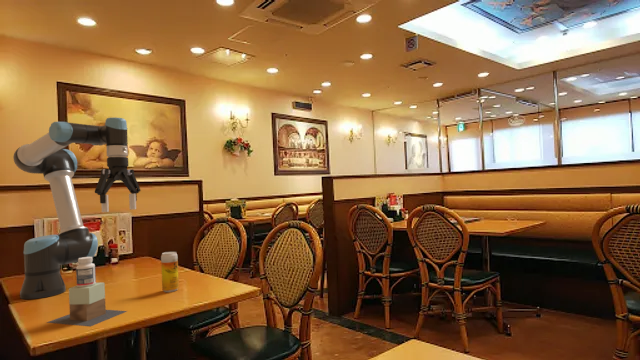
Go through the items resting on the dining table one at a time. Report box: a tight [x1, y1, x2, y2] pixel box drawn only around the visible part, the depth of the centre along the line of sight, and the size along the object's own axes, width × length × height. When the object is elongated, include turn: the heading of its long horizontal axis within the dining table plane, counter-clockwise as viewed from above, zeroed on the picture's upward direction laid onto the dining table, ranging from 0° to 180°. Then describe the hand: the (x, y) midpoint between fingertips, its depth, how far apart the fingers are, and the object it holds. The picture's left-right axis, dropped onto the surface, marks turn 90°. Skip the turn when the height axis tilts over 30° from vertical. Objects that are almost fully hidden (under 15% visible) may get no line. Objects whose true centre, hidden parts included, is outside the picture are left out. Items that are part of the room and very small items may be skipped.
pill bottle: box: [75, 257, 97, 287], centre depth 125 cm, size 5×5×9 cm
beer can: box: [160, 251, 180, 293], centre depth 155 cm, size 6×6×15 cm
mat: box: [46, 309, 128, 327], centre depth 125 cm, size 18×14×1 cm
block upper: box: [68, 282, 106, 304], centre depth 125 cm, size 7×7×5 cm
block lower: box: [68, 297, 107, 321], centre depth 125 cm, size 7×7×5 cm
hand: (119, 210), depth 154 cm, fingers open, 13 cm apart
